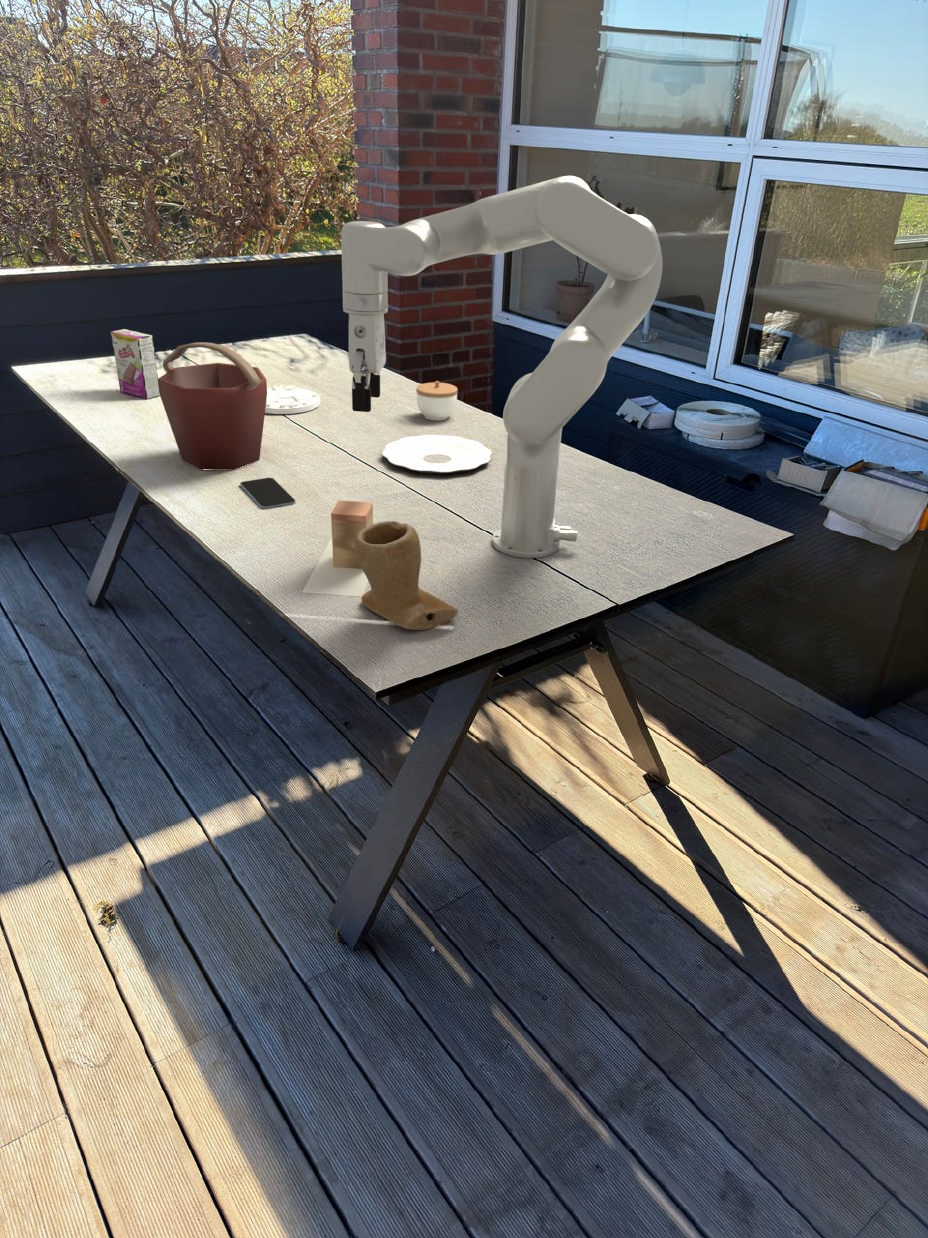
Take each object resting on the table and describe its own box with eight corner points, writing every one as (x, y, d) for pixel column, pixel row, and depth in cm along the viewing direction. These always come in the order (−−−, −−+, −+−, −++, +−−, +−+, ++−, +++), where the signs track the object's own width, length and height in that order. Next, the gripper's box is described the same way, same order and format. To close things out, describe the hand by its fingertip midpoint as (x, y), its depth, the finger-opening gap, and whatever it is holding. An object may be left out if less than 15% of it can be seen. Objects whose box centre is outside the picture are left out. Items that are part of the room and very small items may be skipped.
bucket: (151, 454, 203) (134, 341, 190) (233, 434, 217) (223, 328, 204) (212, 483, 188) (198, 364, 176) (296, 459, 203) (289, 347, 190)
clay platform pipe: (342, 608, 143) (338, 522, 136) (400, 587, 150) (400, 504, 143) (399, 647, 134) (399, 556, 126) (459, 622, 141) (462, 535, 133)
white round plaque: (313, 418, 231) (312, 407, 230) (237, 415, 231) (236, 404, 230) (325, 396, 249) (324, 386, 247) (254, 393, 249) (254, 383, 247)
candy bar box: (119, 392, 244) (109, 331, 236) (133, 389, 248) (124, 328, 239) (146, 400, 239) (137, 337, 231) (161, 396, 242) (153, 334, 234)
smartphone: (261, 507, 177) (238, 482, 188) (262, 512, 177) (238, 486, 188) (297, 501, 180) (272, 476, 191) (297, 505, 181) (272, 480, 192)
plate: (427, 435, 222) (427, 428, 221) (511, 457, 209) (512, 450, 208) (360, 461, 204) (360, 453, 203) (448, 487, 191) (448, 479, 191)
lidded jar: (439, 425, 228) (440, 389, 223) (407, 417, 233) (407, 381, 229) (464, 416, 235) (466, 381, 231) (433, 408, 241) (434, 373, 236)
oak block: (373, 554, 160) (372, 502, 155) (367, 569, 154) (366, 516, 150) (340, 552, 160) (338, 500, 155) (333, 566, 155) (330, 513, 150)
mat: (384, 543, 165) (384, 541, 165) (362, 599, 146) (361, 596, 146) (331, 539, 166) (331, 537, 165) (302, 595, 147) (301, 592, 146)
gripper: (378, 313, 142) (379, 419, 151) (395, 294, 157) (395, 391, 166) (332, 310, 143) (335, 416, 151) (353, 291, 158) (355, 389, 166)
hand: (366, 403), depth 158 cm, fingers open, 8 cm apart
